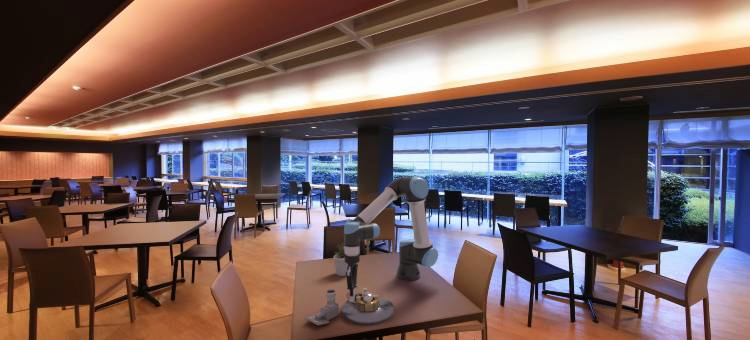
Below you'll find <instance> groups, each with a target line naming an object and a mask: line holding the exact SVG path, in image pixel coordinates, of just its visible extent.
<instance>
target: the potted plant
mask: <svg viewBox="0 0 750 340" xmlns="http://www.w3.org/2000/svg"><path fill="white" fill-rule="evenodd" d="M337 245H338V246H336V248H337V249H338V252H337V251H334V254H335V255H333V257H332V258H333V262H334V268H335V273H336V275H337V276H339V277H347V276H346V272H348V270H347V266H348V264H347V263H345V261H344V255H345V249H344V246H343V244H340V245H339V244H337Z"/></svg>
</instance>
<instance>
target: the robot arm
mask: <svg viewBox="0 0 750 340" xmlns="http://www.w3.org/2000/svg"><path fill="white" fill-rule="evenodd" d="M429 188H430V187H429V184H428V183H427V181H426V179H424V178H423V177H417V176H412V177H411V176H401V177H398V178H396V179H394V180H393V181H392V182H390V183H389V184H388V185H387V186H386V187H385V188H384V191H383V192H382V193H380V195H379V196H377V198H375V199H374V200H373V201H372V202H371V203H370V204H369V205H368V206H367V207H365V208H364V210H362V211H361V212H360V213H359V214H358V215H357V216H355V218H354V219H348V220H347V221H346V222H345V223H344V227H343V228H344V230H343V238H344V239H343V240H344V241H343V248H344V251H345V255H344V261H345V263H347V264H348V266H347V270H348V272H346V276H345V277H346V285H347V290H349V291H348V292H349V299H348V300H349V302H355V294H356V289H357V288H358V285H357V280H358V268H359V267H358V266H359V264H358V263H359V262H361V261H360V260H361V259H360V258H361V257H360V255H361V252H360V250H361V247H360V243H361V242H360V241H367V240H373V239H376V238H378V237H379V236H380V234H381V231H380V230H381V228H380V226H379V225H378V224H377V223H374V222H373V223H371V222H372V221H373V220H375V218H377V216H378V215H380V213H382V211H384V209H385V208H387V207H388V206H389V205H390V204H391V203H392V202H393V201H396V200H398V198H400V197H405V202H406V203H407V204H408V205H409V213H410V217H411V225H412V231H413V237H414V238H407V239H402V240H400V242H399V245H398V247H399V251H398V255H399V262H398V267H397V270H396V277H397V278H398V279H400V280H405V281H415V280H418V279H420V278H421V271H420V267H419V265H421V266H423V267H427V268H431V267H433V266H434V265H436V263H437V261H438V259H439V258H438V257H439V252H438V250H437V248H435V247H434V246H433V241H432V240H430V234H429V228H428V223H427V217H426V216H427V215H426V214H427V213H426V209H425V208H426V207H425V203H424V202H425V201H426V199H427V196H428V194H429Z"/></svg>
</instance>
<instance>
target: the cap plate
mask: <svg viewBox="0 0 750 340" xmlns="http://www.w3.org/2000/svg"><path fill="white" fill-rule="evenodd" d="M367 291H368V288H367V287H363V292H362V295H363V302H367V300H371V302H372V301H373V294H374V293H372V292H369V291H368V292H367ZM365 292H366V293H365ZM379 299H380V307H379V308H378V309H377V310H375V311H374V310H373V311H369V312H365V311H364V312H363V311H361V310H358V309H357V306H356V301H355V302H349V299H347V300H346V301H345V302H344V303H343V304H342V306H341V314H342V316H343V318H344V319H345V320H347V321H348V322H351V323H353V324H356V325H363V326H364V325H365V326H372V325H377V324H382V323H384V321H385V322H386V320H387V321H389V320H390V319H391V318H392V317H393V315H394V308H395V307H394V306H395V305H394V304H393V302H392V301H391V300H390V299H387V298H386V297H383V296H379Z"/></svg>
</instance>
